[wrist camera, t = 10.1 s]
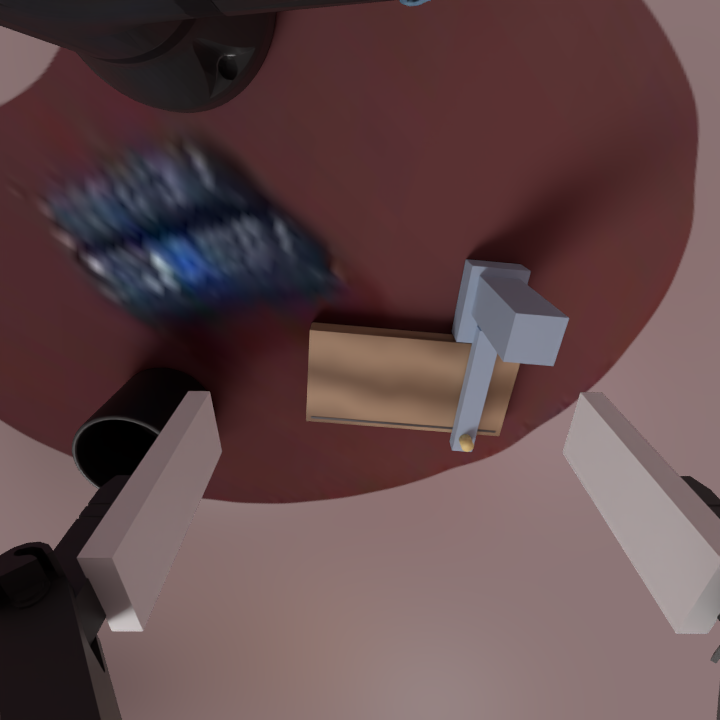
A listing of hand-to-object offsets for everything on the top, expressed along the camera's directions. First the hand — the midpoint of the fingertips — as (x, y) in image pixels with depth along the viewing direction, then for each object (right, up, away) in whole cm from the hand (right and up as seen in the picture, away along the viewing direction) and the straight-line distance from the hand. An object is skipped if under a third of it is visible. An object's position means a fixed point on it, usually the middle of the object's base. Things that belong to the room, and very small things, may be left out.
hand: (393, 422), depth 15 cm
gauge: (+10, +3, +26) cm, 28 cm away
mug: (-21, -4, +30) cm, 37 cm away
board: (+4, +1, +27) cm, 28 cm away
